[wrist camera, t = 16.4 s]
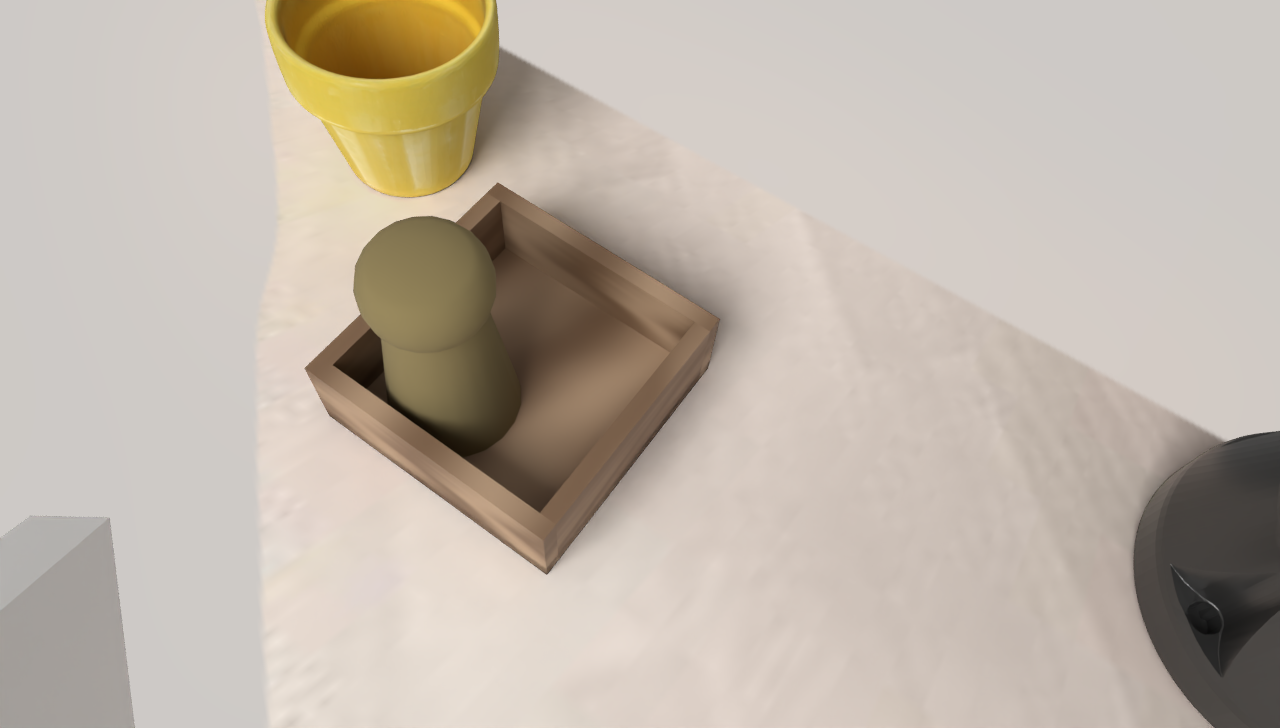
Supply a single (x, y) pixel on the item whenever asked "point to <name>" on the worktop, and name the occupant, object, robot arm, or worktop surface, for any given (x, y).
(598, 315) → the walnut crate
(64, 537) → the robot arm
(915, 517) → the worktop surface
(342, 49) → the plant pot
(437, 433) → the cork
